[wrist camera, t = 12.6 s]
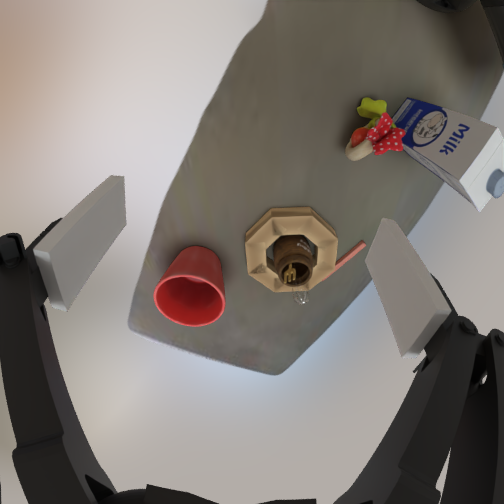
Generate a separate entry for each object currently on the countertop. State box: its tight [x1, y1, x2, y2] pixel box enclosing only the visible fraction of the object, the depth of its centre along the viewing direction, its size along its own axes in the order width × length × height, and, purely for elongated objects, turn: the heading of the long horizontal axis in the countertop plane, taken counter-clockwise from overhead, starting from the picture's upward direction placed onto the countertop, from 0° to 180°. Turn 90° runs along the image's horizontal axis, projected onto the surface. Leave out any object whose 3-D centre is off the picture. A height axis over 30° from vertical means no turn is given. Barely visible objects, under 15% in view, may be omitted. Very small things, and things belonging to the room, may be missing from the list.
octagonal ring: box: [245, 207, 338, 292], centre depth 47 cm, size 14×14×3 cm
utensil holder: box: [273, 234, 313, 305], centre depth 43 cm, size 6×6×12 cm
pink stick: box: [321, 241, 366, 281], centre depth 49 cm, size 10×1×1 cm, turn 139°
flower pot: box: [154, 246, 226, 326], centre depth 47 cm, size 11×11×10 cm
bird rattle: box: [345, 97, 406, 161], centre depth 33 cm, size 6×11×9 cm
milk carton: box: [390, 97, 504, 212], centre depth 28 cm, size 7×7×20 cm
